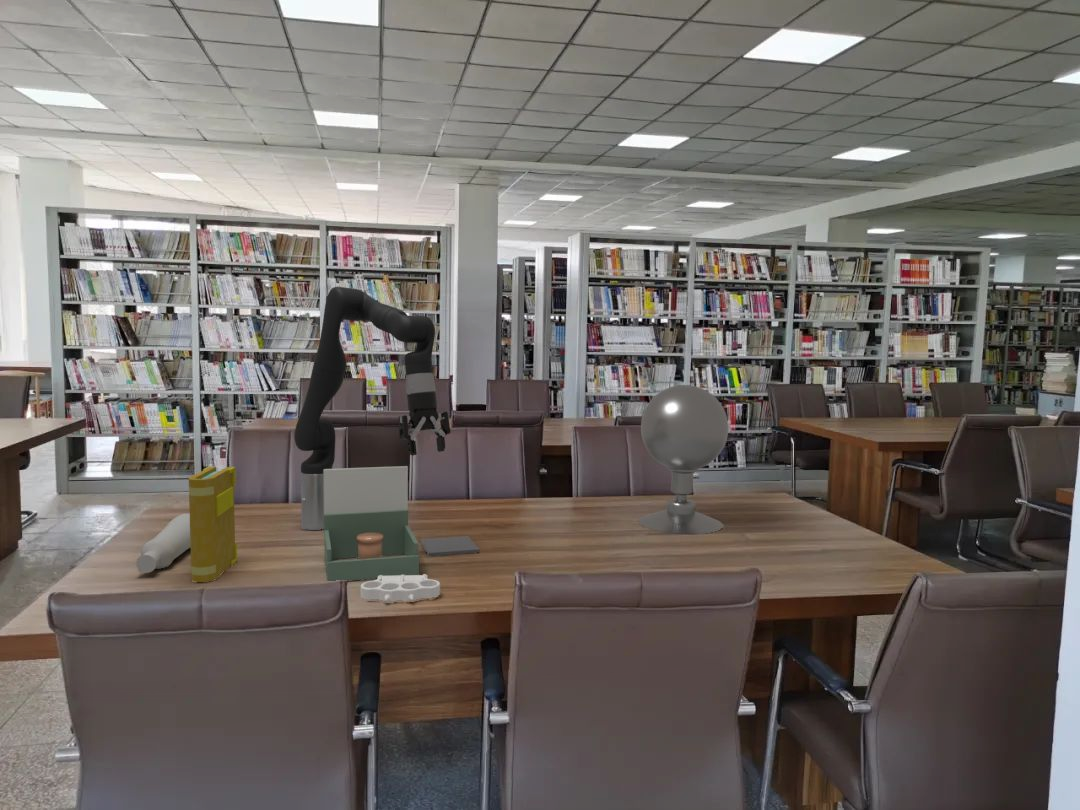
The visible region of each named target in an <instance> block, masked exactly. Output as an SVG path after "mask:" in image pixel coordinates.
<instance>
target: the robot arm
mask: <svg viewBox="0 0 1080 810" xmlns="http://www.w3.org/2000/svg"><path fill="white" fill-rule="evenodd" d="M325 299H326V300H325V304H324V309H323V310H324V311H323V319H322V325H321V326H322V327H321V333H320V337H319V341H318V347H317V349H316V355H315V358H314V363H313V366H312V371H311V375H310V380H309V384H308V388H307V391H306V396H305V399H304V403H303V405H302V408H301V411H300V414H299V416H298V420H297V421H296V422H297V423H296V425H295V429H294V434H293V435H294V438H293V439H294V444H295V446H296V447H297V448H298V449H299V450H300V451H303V452H310V451H311V452H312V454H311V455H310V456H309V457H308V458H306V459H305V460H303V461H302V463H301V464H300V484H301V485H300V495H301V496H300V499H301V500H300V502H301V506H300V507H301V508H300V510H301V511H300V513H301V515H300V516H301V530H307V531H318V530H319V531H320V530H321V529H322V530H324V469H333V465H334V463H335V459H336V458H335V457H336V430H335V427H334V425H333V423H332V421H330V420H329V419H327V418H321V417H322V414H323V412H324V410H325V408H326V407H327V405H328V404H329V402H331V401H332V399H333V398H334V397H335V396H336V394H337V393H338V392H339V390H340V388H341V387H342V385H343V382H344V377H345V373H346V369H347V364H348V363H347V357H346V355H345V352H344V349H343V346H342V343H341V340H340V329H341V324H342V321H344V320H345V321H352V322H353V321H367V322H370V323H372V324H373V326H374V327H375V328H377V329H378V330H380V331H383V332H385V333H387V334H390V335H391V336H393V338H394V339H395V340H397V341H399V342H402V343H405V344H406V343H409V344H411V343H412V344H413V343H414V344H415V343H416V346H415V350H414V351H410V352H407V353H406V354H405V355H404V361H403V362H404V371H405V390H406V398H407V399H406V400H407V408H408V412H409V414H408V415H405V414H404V415H399V416H398V417H397V418H398V435H399V439H400V440H405V441H406V442H407V452H408V454H409V455H410V456H416V455H417V444H416V440H415V439H416V437H417V436H418V434H419V433H420V431H428V430H430V431H431V432H433V434H434V435H435V436H436V439H435V440H436V447H437V448H436V449H437V452H445V449H446V440H445V436H447V435H449V434H450V433H452V432H451V426H450V419H449V413H448V411H440V412H438V410H437V407H438V402H437V401H438V400H437V391H436V383H435V378H434V374H433V373H434V371H433V362H432V354H433V350H434V349H433V348H434V341H435V337H436V328H435V323H434V322H433V321H432V319H431V317H428V316H426V315H408V314H407V313H406V312H405V311H404V310H401V309H400V308H398V307H394V306H390V305H388V304H385V303H382V302H380V301H378V300H376V299H375V298H373V297H372V296H371V295H369V294H367V293H366V292H364V291H363V290H360V289H358V288H352V287H344V286H334V287H332V288H331V289H330V290H329V292H328V294H327V296H326V298H325ZM438 420H439V423H440V424H439V423H438ZM409 422H410V424H411V425H410V427H409ZM322 530H321V531H322Z"/></svg>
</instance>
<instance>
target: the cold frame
mask: <svg viewBox="0 0 1080 810" xmlns="http://www.w3.org/2000/svg"><path fill="white" fill-rule="evenodd" d="M408 476H409V466H408V465H404V466H403V465H401V466H375V467H373V466H372V467H349V468H347V467H345V468H332V469H324V529H323V535H324V536H323V537H324V538H323V539H324V541H323V542H324V543H323V544H324V546H323V547H324V550H323V551H324V564H325V565H324V566H326V567H325V573H326V574H327V575H326V580H327V581H336V580H347V581H348V582H350V581H349V580H360V581H363V580H362V579H372V580H375V579H374V578H378V576H379V575H382V576H396V575H420V556H419V542H418V540H417V538H416V537H415V534H414V533H413V531H412V529H411V528H410V525H409V509H408V508H409V491H408V490H409V488H408V487H409V479H408V478H409V477H408ZM363 533H380V534H383V541H382V558H370V559H357V558H358V541H357V536H358V535H359V534H363ZM384 555H385V556H387V557H385V556H384ZM395 555H396V556H395ZM397 555H398V556H397ZM399 555H400V556H399ZM383 556H384V557H383ZM355 557H357V558H355ZM343 558H344V559H346V560H344V559H343ZM354 558H355V559H354ZM342 559H343V560H342Z"/></svg>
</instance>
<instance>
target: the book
mask: <svg viewBox="0 0 1080 810" xmlns="http://www.w3.org/2000/svg"><path fill="white" fill-rule="evenodd" d="M236 478H237V477H236V466H227V467H225V468H223V469H221V470H217V467H216V466H207V467H205V468H203V469H202V470H201V471H199V472H197V473H196V474H194V475H192V476H190V477H188V500H189V501H188V502H189V506H188V508H189V514H190V545H191V548H190V572H191V573H190V576H191V579H192V580H193V581H196V582H208V583H210V582H209V581H212V582H214V581H213V580H214V579H217V578H218V576H220V574H221V573H222V572H223V571H225V570H226V569H227V568H228V567H229V566H230V565H233V564H234V563H235V562H236V561H237V562H238V543H236V531H235V526H236V525H235V523H236V522H235V518H236V517H235V486H236V485H237V484H236V483H237V482H236ZM237 562H236V563H237ZM236 563H235V564H236ZM235 564H234V565H235ZM234 565H233V566H234ZM230 567H231V566H230ZM230 567H229V568H230ZM229 568H228V569H229ZM228 569H227V570H228ZM227 570H226V571H227ZM226 571H225V572H226ZM220 577H221V576H220ZM191 579H190V580H191ZM218 579H219V578H218ZM218 579H217V580H218ZM192 580H191V581H192Z"/></svg>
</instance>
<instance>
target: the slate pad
mask: <svg viewBox="0 0 1080 810" xmlns="http://www.w3.org/2000/svg"><path fill="white" fill-rule="evenodd" d="M421 543H422V544H421ZM420 544H421V545H423V546H422V548H423V550H424V551H425V552H427V553H426V554H427V556H428V557H429V556H431V557H439V556H438V555H444V556H451V555H450V554H457V555H464V554H463V553H470V554H478V553H477V552H479V553H480V548H479V547H478V546H477V545H476V544H475V542H474V541H473V539H471V538H470V536H469V535H462V536H447V537H445V536H444V537H433V538H432V537H431V538H420ZM475 552H476V553H475Z"/></svg>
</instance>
